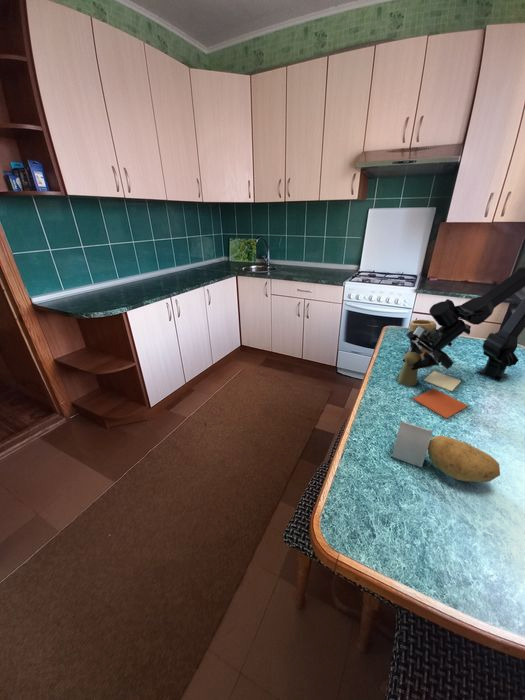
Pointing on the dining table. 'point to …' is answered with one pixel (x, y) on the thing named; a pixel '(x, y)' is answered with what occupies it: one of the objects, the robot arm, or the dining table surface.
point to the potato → (462, 460)
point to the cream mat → (442, 381)
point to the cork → (409, 369)
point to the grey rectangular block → (412, 443)
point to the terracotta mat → (440, 403)
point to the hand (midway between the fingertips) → (407, 365)
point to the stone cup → (423, 323)
